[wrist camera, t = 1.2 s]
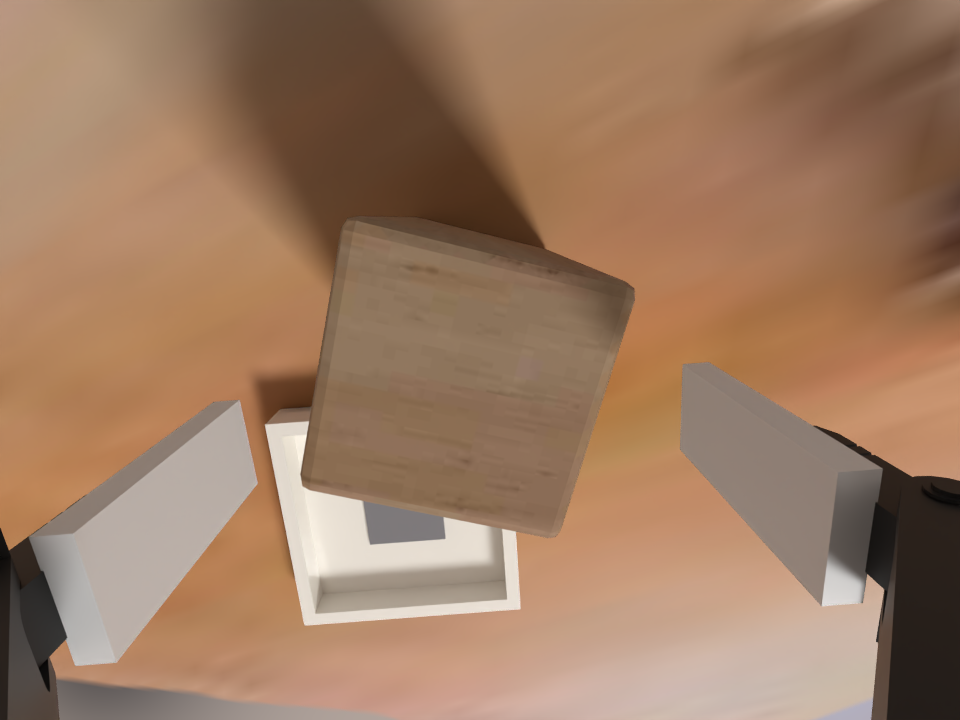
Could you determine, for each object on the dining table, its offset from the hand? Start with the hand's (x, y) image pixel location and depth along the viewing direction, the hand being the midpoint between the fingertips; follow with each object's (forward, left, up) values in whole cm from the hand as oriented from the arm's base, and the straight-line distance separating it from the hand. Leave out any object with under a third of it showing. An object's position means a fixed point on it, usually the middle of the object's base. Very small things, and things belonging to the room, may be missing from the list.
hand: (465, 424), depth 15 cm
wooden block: (0, 0, -23) cm, 23 cm away
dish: (+15, -6, -22) cm, 28 cm away
